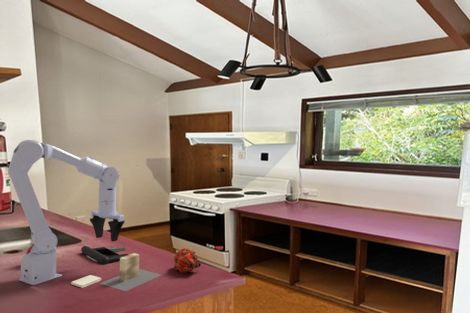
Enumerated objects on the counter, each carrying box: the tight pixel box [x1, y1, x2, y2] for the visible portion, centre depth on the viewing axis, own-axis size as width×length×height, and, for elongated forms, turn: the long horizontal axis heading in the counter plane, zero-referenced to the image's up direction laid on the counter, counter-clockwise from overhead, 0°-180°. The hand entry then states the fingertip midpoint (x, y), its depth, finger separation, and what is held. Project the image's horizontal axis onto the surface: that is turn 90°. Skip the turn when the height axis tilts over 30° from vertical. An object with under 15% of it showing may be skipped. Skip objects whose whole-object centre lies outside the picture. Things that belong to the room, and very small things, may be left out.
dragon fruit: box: [173, 247, 202, 275], centre depth 123 cm, size 8×8×12 cm
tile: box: [70, 274, 102, 289], centre depth 110 cm, size 2×5×7 cm
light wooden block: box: [119, 252, 140, 281], centre depth 115 cm, size 6×2×7 cm, turn 151°
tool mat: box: [99, 268, 162, 293], centre depth 114 cm, size 16×11×1 cm
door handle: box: [80, 245, 130, 265], centre depth 138 cm, size 3×20×16 cm
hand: (106, 239), depth 125 cm, fingers open, 7 cm apart
